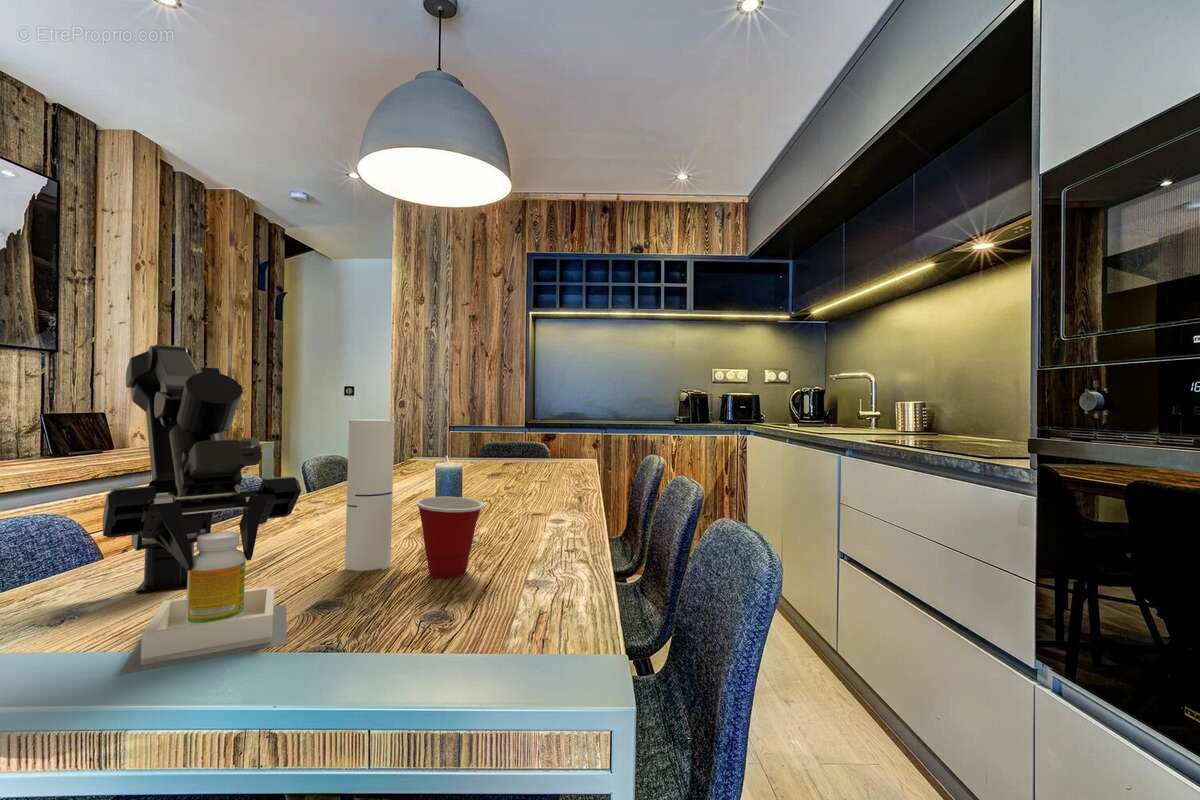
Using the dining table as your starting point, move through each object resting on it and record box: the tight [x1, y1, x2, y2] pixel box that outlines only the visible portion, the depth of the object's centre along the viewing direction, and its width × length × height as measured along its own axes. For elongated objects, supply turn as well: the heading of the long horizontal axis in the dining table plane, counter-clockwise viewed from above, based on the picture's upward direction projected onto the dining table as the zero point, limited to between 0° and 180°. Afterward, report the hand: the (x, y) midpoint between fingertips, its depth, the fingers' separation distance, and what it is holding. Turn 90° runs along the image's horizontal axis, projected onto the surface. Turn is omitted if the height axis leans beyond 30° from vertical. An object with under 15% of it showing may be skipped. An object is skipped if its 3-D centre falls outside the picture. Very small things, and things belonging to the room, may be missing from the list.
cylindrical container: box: [344, 419, 395, 572], centre depth 89 cm, size 7×7×25 cm
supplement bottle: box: [186, 531, 247, 625], centre depth 61 cm, size 5×5×10 cm
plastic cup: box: [416, 496, 485, 579], centre depth 86 cm, size 11×11×12 cm
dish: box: [141, 585, 275, 665], centre depth 60 cm, size 11×11×3 cm
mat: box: [117, 604, 288, 676], centre depth 60 cm, size 14×14×1 cm
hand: (220, 563), depth 60 cm, fingers closed on supplement bottle, 5 cm apart
